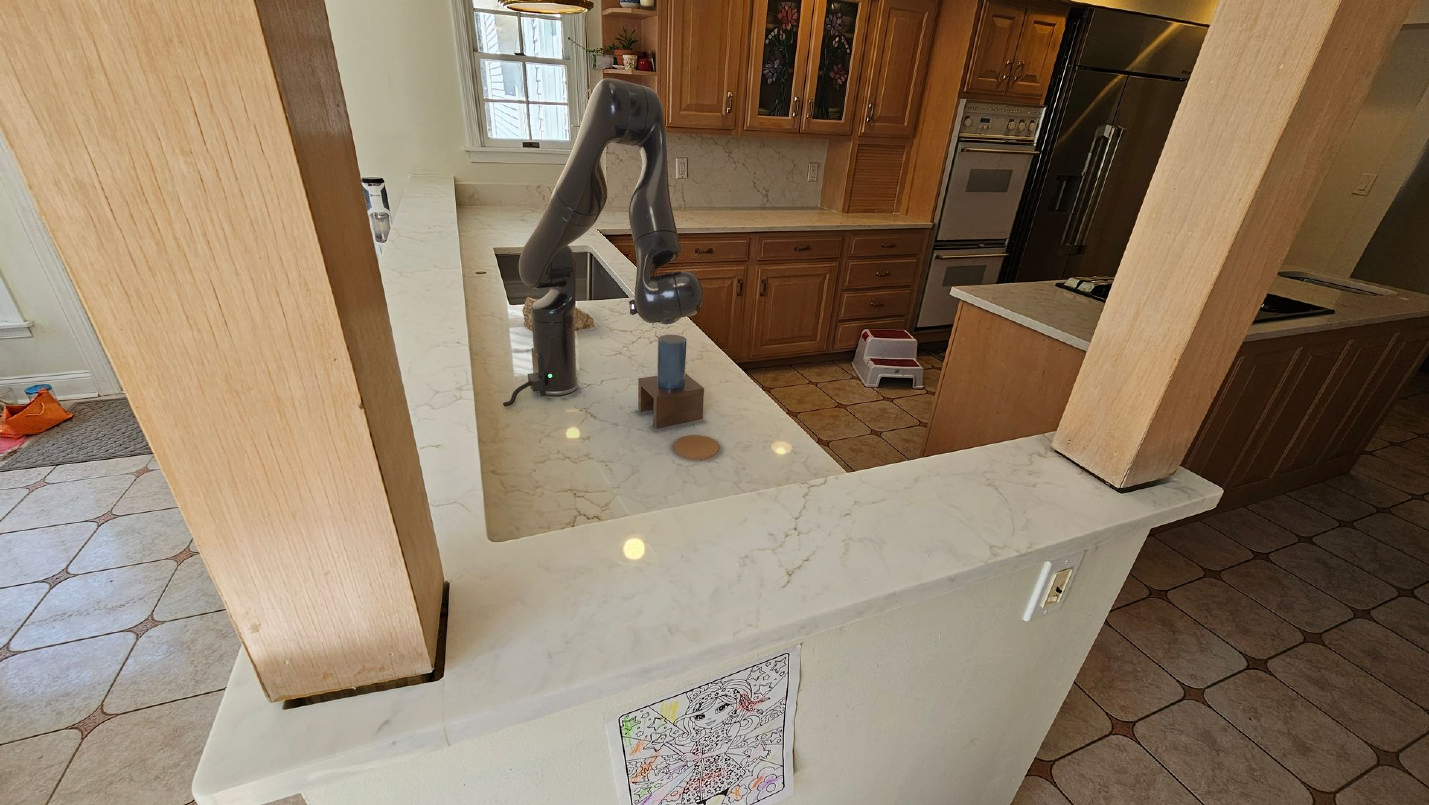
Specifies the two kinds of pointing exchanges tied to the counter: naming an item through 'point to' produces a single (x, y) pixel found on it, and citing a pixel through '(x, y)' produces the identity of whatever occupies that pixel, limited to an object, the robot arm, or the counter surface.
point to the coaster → (696, 447)
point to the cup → (671, 361)
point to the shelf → (671, 401)
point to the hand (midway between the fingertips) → (664, 307)
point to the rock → (580, 317)
